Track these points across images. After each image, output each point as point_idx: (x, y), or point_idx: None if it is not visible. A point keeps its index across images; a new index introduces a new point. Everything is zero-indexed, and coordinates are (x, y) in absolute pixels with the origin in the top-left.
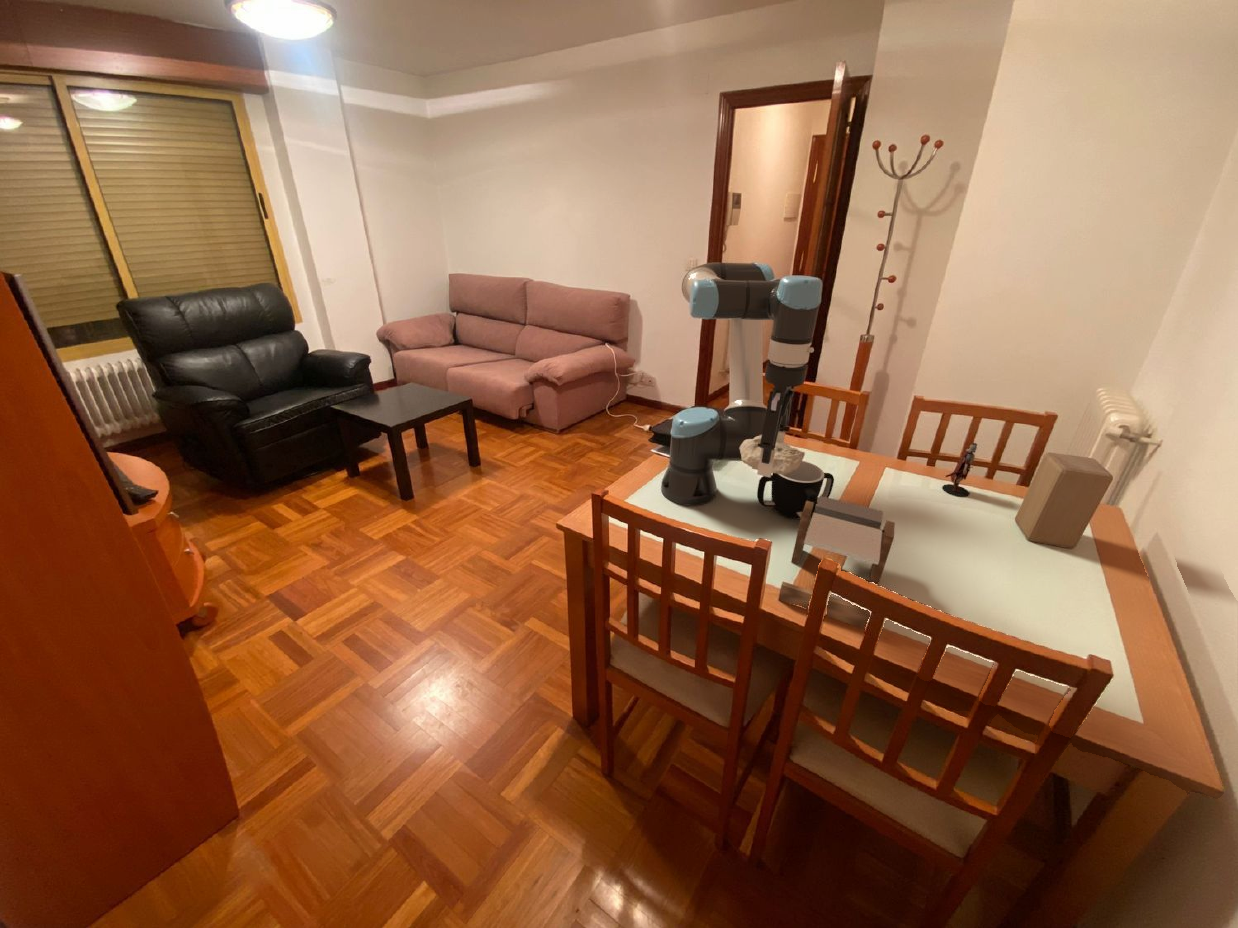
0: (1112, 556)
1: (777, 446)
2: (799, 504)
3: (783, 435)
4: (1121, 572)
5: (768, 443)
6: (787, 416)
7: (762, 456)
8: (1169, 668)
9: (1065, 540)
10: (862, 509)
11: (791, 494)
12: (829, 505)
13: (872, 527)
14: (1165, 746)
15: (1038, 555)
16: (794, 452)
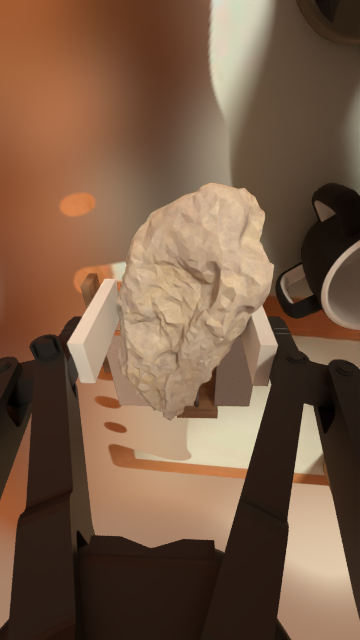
0: (319, 479)
1: (181, 355)
2: (305, 275)
3: (250, 375)
4: (296, 479)
5: (8, 399)
6: (322, 439)
7: (61, 332)
8: (193, 473)
9: (325, 471)
10: (241, 388)
11: (310, 267)
12: (231, 352)
13: (197, 397)
14: (124, 461)
15: (303, 451)
16: (161, 399)
